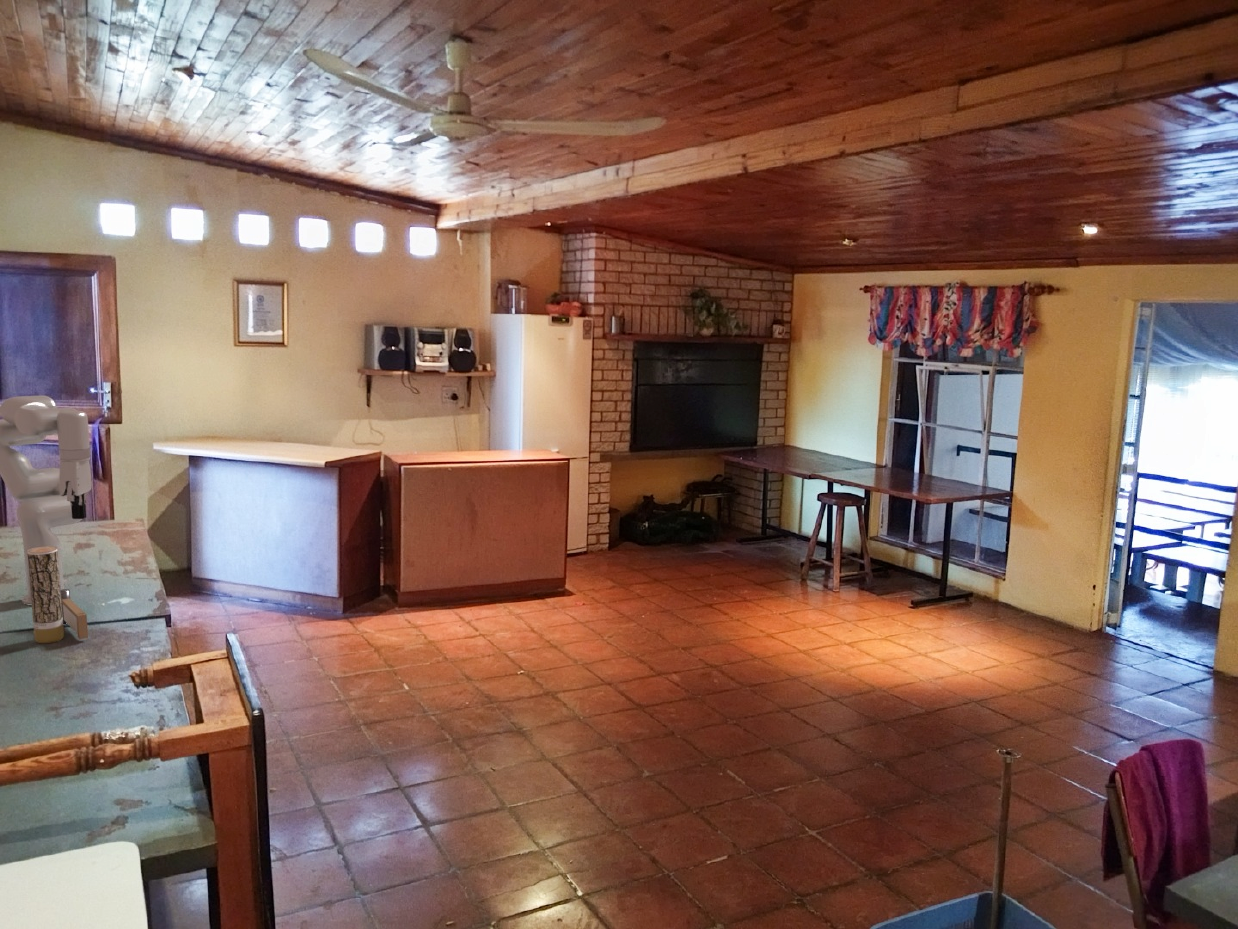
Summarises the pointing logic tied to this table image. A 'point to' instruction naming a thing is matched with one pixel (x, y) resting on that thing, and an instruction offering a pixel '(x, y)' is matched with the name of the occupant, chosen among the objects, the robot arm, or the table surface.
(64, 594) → the hinge post
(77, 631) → the gate
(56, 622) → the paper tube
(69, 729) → the table surface
